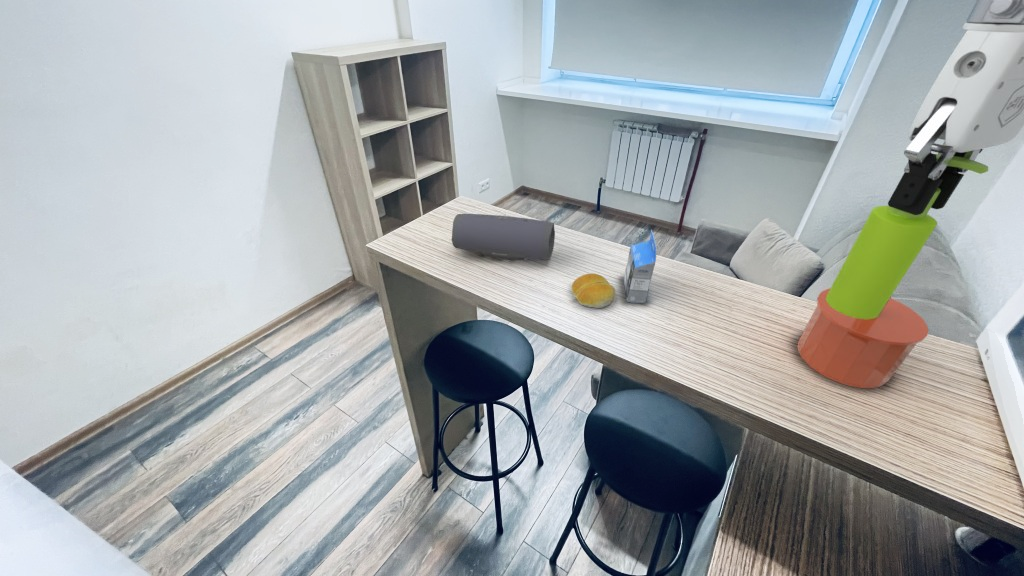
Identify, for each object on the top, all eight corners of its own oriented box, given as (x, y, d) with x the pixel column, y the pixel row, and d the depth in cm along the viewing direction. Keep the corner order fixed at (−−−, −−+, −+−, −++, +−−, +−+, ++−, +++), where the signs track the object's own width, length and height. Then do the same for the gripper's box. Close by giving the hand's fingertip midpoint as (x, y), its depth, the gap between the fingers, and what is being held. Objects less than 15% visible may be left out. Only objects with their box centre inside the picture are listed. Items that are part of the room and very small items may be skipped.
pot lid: (945, 333, 60) (965, 308, 57) (885, 359, 56) (903, 334, 53) (851, 284, 70) (864, 262, 67) (795, 304, 66) (806, 280, 63)
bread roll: (583, 313, 79) (585, 296, 77) (566, 287, 86) (568, 271, 84) (622, 305, 81) (625, 289, 79) (602, 281, 88) (604, 265, 86)
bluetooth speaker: (554, 251, 99) (556, 213, 93) (547, 271, 92) (549, 231, 86) (466, 241, 104) (462, 205, 98) (453, 260, 96) (448, 221, 91)
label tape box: (623, 278, 89) (631, 227, 82) (642, 279, 88) (652, 228, 81) (626, 302, 82) (636, 249, 75) (647, 304, 81) (658, 250, 74)
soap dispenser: (885, 329, 51) (991, 171, 39) (820, 306, 55) (900, 156, 43) (892, 308, 54) (991, 156, 43) (831, 287, 58) (907, 144, 46)
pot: (907, 374, 65) (942, 328, 60) (854, 398, 61) (886, 352, 56) (830, 326, 75) (854, 284, 69) (780, 345, 71) (801, 302, 65)
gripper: (1038, 13, 30) (904, 235, 41) (1141, 8, 35) (997, 207, 45) (922, 12, 36) (831, 207, 46) (1024, 8, 41) (921, 185, 51)
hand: (914, 205), depth 46 cm, fingers closed on soap dispenser, 3 cm apart
